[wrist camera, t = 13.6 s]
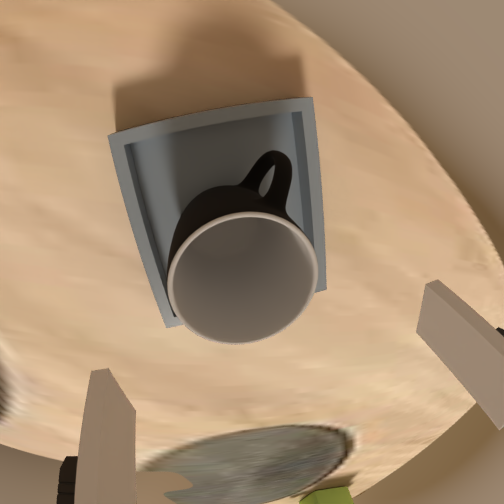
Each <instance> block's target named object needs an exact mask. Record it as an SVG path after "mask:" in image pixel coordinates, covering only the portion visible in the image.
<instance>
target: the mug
mask: <svg viewBox="0 0 504 504" xmlns="http://www.w3.org/2000/svg"><path fill="white" fill-rule="evenodd" d="M274 165H275V169H274V175H273V179H272V182H271V185H270V188H269V190H268V192H267V193H266V194H265V196H264V197H262V196H261V195H260V194H259V187H260V184H261V182H262V180H263V178H264V177H265V175H266V174H267V172H268V171H269V170H270V169H271V168H272V167H273V166H274ZM291 181H292V164H291V161H290V159H289V158H288V156H287V155H286V154H284V153H282V152H280V151H276V150H271V151H268V152H266V153H264V154H263V155H262V156H261V157H260V158H259V159H258V160H257V161H256V163H255V164H254V165H253V167H252V168H251V170H250V171H249V173H248V174H247V176H246V177H245V178H244V180H243V181H242V182H241V183H239V184H238V185H223V186H217V187H213V188H210V189H207V190H205V191H203V192H202V193H200V194H199V195H197V196H196V197H195V198H194V199H193V200H192V201H191V202H190V203H189V204H188V205H187V207H186V208H185V209H184V211H183V213H182V214H181V216H180V219H179V221H178V223H177V226H176V228H175V231H174V234H173V238H172V242H171V246H170V251H169V257H168V264H167V292H168V297H169V301H170V304H171V306H172V309H173V311H174V312H175V314H176V316H177V317H178V319H179V320H180V321H181V322H182V323H183V324H184V325H185V326H186V327H187V328H188V329H189V330H191V331H192V332H193V333H195V334H197V335H198V336H200V337H202V338H205V339H207V340H210V341H213V342H217V343H222V344H235V345H236V344H248V343H254V342H258V341H261V340H264V339H267V338H269V337H272V336H274V335H276V334H278V333H279V332H281V331H283V330H284V329H286V328H287V327H288V326H290V325H291V324H292V323H293V322H294V321H295V320H296V319H297V318H298V317H299V316H300V315H301V314H302V313H303V312H304V310H305V309H306V308H307V306H308V304H309V303H310V301H311V299H312V297H313V295H314V292H315V289H316V286H317V281H318V261H317V256H316V253H315V250H314V248H313V246H312V244H311V242H310V240H309V239H308V237H307V236H306V234H305V233H304V232H303V231H302V229H301V228H300V227H299V226H298V225H297V224H296V223H295V222H294V221H293V220H292V219H291V218H290V217H289V216H288V214H287V212H286V202H287V198H288V194H289V190H290V186H291Z"/></svg>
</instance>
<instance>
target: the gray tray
mask: <svg viewBox="0 0 504 504" xmlns="http://www.w3.org/2000/svg"><path fill="white" fill-rule="evenodd" d="M108 140H109V144H110V148H111V153H112V157H113V161H114V165H115V169H116V173H117V177H118V181H119V184H120V188H121V192H122V196H123V199H124V203H125V206H126V210H127V213H128V217H129V220H130V224H131V227H132V230H133V234H134V237H135V240H136V243H137V246H138V249H139V253H140V256H141V259H142V262H143V265H144V268H145V271H146V274H147V277H148V279H149V282H150V285H151V288H152V291H153V294H154V296H155V299H156V302H157V305H158V307H159V310H160V313H161V315H162V318H163V321H164V323H165V326H166V328H170V327H175V326H179V325H184V324H183V323H182V322H181V321H180V320H179V319H178V317H177V316H176V314H175V312H174V311H173V309H172V306H171V304H170V301H169V297H168V292H167V264H168V257H169V251H170V246H171V242H172V238H173V234H174V231H175V228H176V226H177V223H178V221H179V219H180V216H181V214H182V213H183V211H184V209H185V208H186V207H187V205H188V204H189V203H190V202H191V201H192V200H193V199H194V198H195V197H196V196H197V195H199V194H200V193H202V192H203V191H205V190H207V189H210V188H213V187H217V186H223V185H238V184H239V183H241V182H242V181H243V180H244V178H245V177H246V176H247V174H248V173H249V171H250V170H251V168H252V167H253V165H254V164H255V163H256V161H257V160H258V159H259V158H260V157H261V156H262V155H263V154H264V153H266V152H268V151H271V150H276V151H280V152H282V153H284V154H286V155H287V156H288V158H289V159H290V161H291V164H292V181H291V186H290V190H289V194H288V198H287V202H286V212H287V214H288V216H289V217H290V218H291V219H292V220H293V221H294V222H295V223H296V224H297V225H298V226H299V227H300V228H301V229H302V231H303V232H304V233H305V234H306V236H307V237H308V239H309V240H310V242H311V244H312V246H313V248H314V250H315V253H316V256H317V261H318V281H317V286H316V289H315V292H314V293H316V292H320V291H323V290H327V287H326V256H325V234H324V216H323V200H322V186H321V173H320V162H319V151H318V140H317V131H316V121H315V113H314V104H313V97H298V98H288V99H279V100H271V101H263V102H255V103H248V104H241V105H235V106H229V107H223V108H217V109H212V110H206V111H201V112H196V113H191V114H186V115H182V116H177V117H173V118H168V119H164V120H160V121H156V122H152V123H148V124H144V125H140V126H136V127H132V128H129V129H125V130H122V131H118V132H115V133H113V134H110V135H108ZM274 169H275V165H274V166H273V167H272V168H271V169H270V170H269V171H268V172H267V174H266V175H265V177H264V178H263V180H262V182H261V184H260V187H259V194H260V195H261V196H262V197H264V196H265V194H266V193H267V192H268V190H269V188H270V185H271V182H272V179H273V175H274Z"/></svg>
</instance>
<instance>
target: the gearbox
mask: <svg viewBox="0 0 504 504" xmlns="http://www.w3.org/2000/svg"><path fill="white" fill-rule="evenodd" d="M299 504H354V503H353V500H352V498H351V495H350V492H349V490H348V487H338V488H331V489H324V490H318V491H314V492H313V493H311V494H309V495H308V496H307V497H305V498H304V499H303V500H301V501H300V502H299Z"/></svg>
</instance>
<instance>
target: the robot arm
mask: <svg viewBox="0 0 504 504" xmlns="http://www.w3.org/2000/svg"><path fill="white" fill-rule="evenodd" d="M416 332H417V334H418V335H419V336H420V337H421V338H422V339H423V340H424V341H425V342H426V344H427V345H428V346H429V347H430V348H431V349H432V350H433V351H434V352H435V354H436V355H437V356H438V357H439V358H440V359H441V360H442V362H443V363H444V364H445V365H446V366H447V367H448V368H449V370H450V371H451V372H452V373H453V374H454V375H455V377H456V378H457V379H458V380H459V381H460V382H461V384H462V385H463V386H464V387H465V388H466V390H467V391H468V392H469V393H470V394H471V396H472V397H473V398H474V399H475V400H476V402H477V403H478V404H479V405H480V407H481V408H482V409H483V410H484V411H485V413H486V414H487V415H488V416H489V418H490V419H491V420H492V421H493V423H494V424H495V425H496V427H497V428H498V429H499V430H500V429H501V428H503V427H504V330H503V329H501V328H499V327H498V328H497V329H495V328H494V327H492V326H491V325H490V324H489V323H488V322H487V321H486V320H485V319H484V318H483V317H481V316H480V315H479V314H478V313H477V312H476V311H475V310H474V309H472V308H471V307H470V306H469V305H468V304H467V303H465V302H464V301H463V300H462V299H461V298H460V297H458V296H457V295H456V294H455V293H454V292H453V291H451V290H450V289H449V288H448V287H447V286H445V285H444V284H443V283H442V282H441V281H439V280H435V281H432V282H430V283H427V284H425V290H424V295H423V301H422V306H421V311H420V316H419V321H418V325H417V330H416ZM135 423H136V410H135V409H134V407H133V406H132V404H131V403H130V401H129V400H128V398H127V397H126V395H125V394H124V392H123V391H122V389H121V388H120V386H119V384H118V383H117V381H116V380H115V378H114V376H113V375H112V373H111V372H110V370H109V368H108V369H101V370H95V371H91V375H90V380H89V386H88V391H87V397H86V403H85V409H84V415H83V421H82V428H81V436H80V444H79V452H78V456H66V458H65V460H64V462H63V464H62V466H61V468H60V473H59V484H58V495H57V504H137V498H136V468H135Z"/></svg>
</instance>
